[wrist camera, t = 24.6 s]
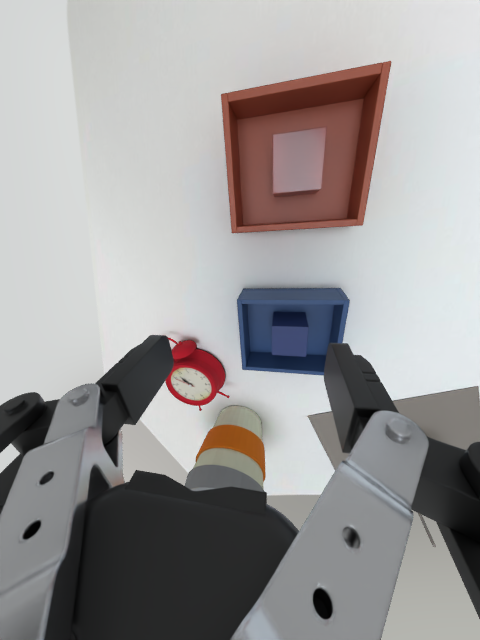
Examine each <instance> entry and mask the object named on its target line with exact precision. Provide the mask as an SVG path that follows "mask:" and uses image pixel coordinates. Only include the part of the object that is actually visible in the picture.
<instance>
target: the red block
mask: <svg viewBox="0 0 480 640" xmlns="http://www.w3.org/2000/svg"><path fill="white" fill-rule="evenodd" d="M326 133H327V126H326V127H319V128H313V129H306V130H299V131H293V132H286V133H280V134H273V195H274V197H283V196H294V195H305V194H315V193H317V192H318V191H320V190H321V189H322V178H323V167H324V156H325V144H326Z"/></svg>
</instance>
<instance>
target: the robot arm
mask: <svg viewBox="0 0 480 640" xmlns="http://www.w3.org/2000/svg"><path fill="white" fill-rule="evenodd" d="M173 365H174V359H173V355H172V351H171V347H170V344H169V340H168V337H167V336H164V335H150V336H149V337H148V338H147V339H146V340H145V341H144V342H143V343H142V344H140V345H138V346H137V347H135V348H133V349H131V350H130V351H129V352H128V353H127V354H126V355H125V356H124V358H122V359H121V360H120V361H119V362H118V363H117V364H115V365H114V366H113V367H112V368H111V369H110V370H109V371H108V372H107V373H106V374H105V375H104V376H103V377H102V378H101V379H100V380H98V381H97V382H96V383H95V384H85V385H81V386H79V387H76V388H74V389H72V390H71V391H69V392H68V393H66V394H65V395H64V396H63V397H62V398H61V399H58V400H52V401H46V402H44V400H43V399H42V397H41V396H40V395H39V394H38V393H35V392H33V393H26V394H22V395H19V396H17V397H15V398H13V399H10V400H9V401H7V402H5V403H4V404H2V405H1V406H0V453H1V452H2V451H3V450H4V449H5V448H6V447H7V446H8V445H9V444H10V443H11V444H12V445H13V446H14V447H15V448H16V449H17V450H18V451H19V452H20V455H19V456H18V457H17V458H16V459H14V461H12V463H10V464H9V465H8V466H7V467H6V468H5V469H4V470H3V471H2V472H1V473H0V640H381V637H382V633H383V629H384V626H385V622H386V618H387V615H388V611H389V607H390V603H391V600H392V596H393V592H394V589H395V585H396V581H397V578H398V574H399V570H400V566H401V563H402V559H403V555H404V552H405V548H406V544H407V541H408V536H409V533H410V529H411V526H412V521H413V511H411V509H412V510H414V511H416V512H418V513H420V514H422V515H424V516H426V517H428V518H430V519H432V520H434V521H436V522H437V524H438V526H439V529H440V531H441V533H442V536H443V538H444V540H445V542H446V545H447V547H448V549H449V551H450V554H451V556H452V558H453V560H454V563H455V565H456V567H457V569H458V571H459V574H460V576H461V578H462V581H463V582H464V585H465V587H466V589H467V591H468V594H469V596H470V598H471V600H472V603H473V605H474V607H475V609H476V612H477V614H478V616H479V619H480V442H475V443H472V444H471V445H470V446H469V447H468V449H467V450H464V449H461V448H458V447H455V446H452V445H449V444H446V443H443V442H440V441H438V440H435V439H432V438H430V437H428V436H426V435H425V433H424V431H423V430H422V429H421V428H420V427H419V426H418V425H417V424H416V423H415V422H413V421H412V420H410V419H409V418H407V417H405V416H404V415H401V414H399V412H398V410H397V408H396V407H395V405H394V403H393V401H392V400H391V398H390V396H389V395H388V393H387V391H386V389H385V388H384V386H383V384H382V383H381V382H380V379H379V377H378V376H377V374H376V372H375V370H374V369H373V367H372V365H371V364H370V363H369V362H368V361H367V360H366V359H364V358H363V357H362V356H361V355H353V353H352V351H351V349H350V347H349V345H348V344H347V343H329V344H328V348H327V355H326V361H325V367H324V381H325V386H326V390H327V394H328V398H329V402H330V406H331V410H332V413H333V417H334V421H335V425H336V429H337V433H338V437H339V441H340V445H341V449H342V453H349V456H348V457H347V459H346V460H345V461H344V460H343V461H342V462H341V463H340V464H339V466H338V467H337V469H336V471H335V472H334V474H333V476H332V477H331V479H330V481H329V482H328V484H327V486H326V487H325V489H324V491H323V492H322V494H321V496H320V497H319V499H318V501H317V503H316V504H315V506H314V507H313V509H312V511H311V513H310V514H309V516H308V518H307V519H306V521H305V522H304V524H303V526H302V527H301V529H300V531H299V530H298V529H297V528H296V527H295V526H294V525H293V523H292V522H290V520H288V519H287V518H286V517H285V516H284V515H283V514H281V513H280V512H279V511H277V510H276V509H275V508H273V507H271V506H269V505H268V504H267V499H266V498H267V493H266V492H261V491H256V490H250V489H244V488H238V487H232V486H231V487H223V488H216V489H209V490H202V491H193V490H190V489H189V488H187V487H185V486H183V485H182V484H180V483H178V482H176V481H174V480H173V479H171V478H169V477H167V476H166V475H162V474H156V473H150V472H144V471H138V470H136V471H135V473H134V474H133V476H132V478H131V480H130V482H126V483H125V481H124V477H123V460H122V459H123V456H122V455H123V453H122V431H121V427H122V426H123V424H131V425H136V423H137V421H138V420H139V419H140V417H141V416H142V414H143V413H144V411H145V410H146V408H147V407H148V405H149V404H150V402H151V401H152V399H153V398H154V396H155V395H156V393H157V392H158V390H159V389H160V387H161V386H162V384H163V383H164V381H165V380H166V379H167V377H168V376H169V374H170V373H171V371H172V369H173Z"/></svg>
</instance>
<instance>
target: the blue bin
mask: <svg viewBox="0 0 480 640" xmlns="http://www.w3.org/2000/svg"><path fill="white" fill-rule="evenodd" d="M349 301H350V300H349V299H348V297H347V296H346V295H345V293H344V292H343V291H342V289H341V288H279V289H243V290H242V292H241V294H240V295H239V297H238V299H237V306H238V319H239V332H240V345H241V357H242V369H243V370H256V371H270V372H284V373H298V374H312V375H324V367H325V361H326V355H327V348H328V344H329V343H342V342H343V336H344V330H345V324H346V319H347V313H348V307H349ZM273 312H305V313H306V317H307V322H308V326H309V329H308V341H307V352H306V357H301V356H283V355H272V321H273Z"/></svg>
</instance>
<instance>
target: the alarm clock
mask: <svg viewBox="0 0 480 640" xmlns="http://www.w3.org/2000/svg"><path fill="white" fill-rule="evenodd" d="M168 339H169V340H171V341H173V342H174V343H176V344H177V345H176V346H175V347H174V348H173V349H172V355H173V359H174V365H173V369H172V371H171V373H170V374H169V376H168V377H167V379H166V385H167V387H168V389H169V391H170V392H171V393H172V395H173V396H175V397H176V398H177V399H178V400H180V401H182V402H184V403H186V404H190V405H196V406H199V408H200V405H205V404H208V403H209V402H211V401H212V400H213V399H214V397H215V396H216V393H219V394H221V395H224V396H226V397H227V398H229V395H228V396H227V395H225V394H223V393H222V392H219V390H220V389H221V388H222V386H223V384H224V381H225V372H224V369H223V367H222V365H221V363H220V362H219V361H218V360H217V359H216V358H215V357H214V356H212V355H211V354H209V353H207V352H205V351H203V350H199V349H196V347H197V345H196V343H195V342H194V341H192V340H187V341H183V342H181V341H180V342H179V344H178V343H177V342H176V341H174V340H173V339H171V338H168ZM199 410H200V411H201V410H202V409H201V408H200V409H199Z"/></svg>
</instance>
